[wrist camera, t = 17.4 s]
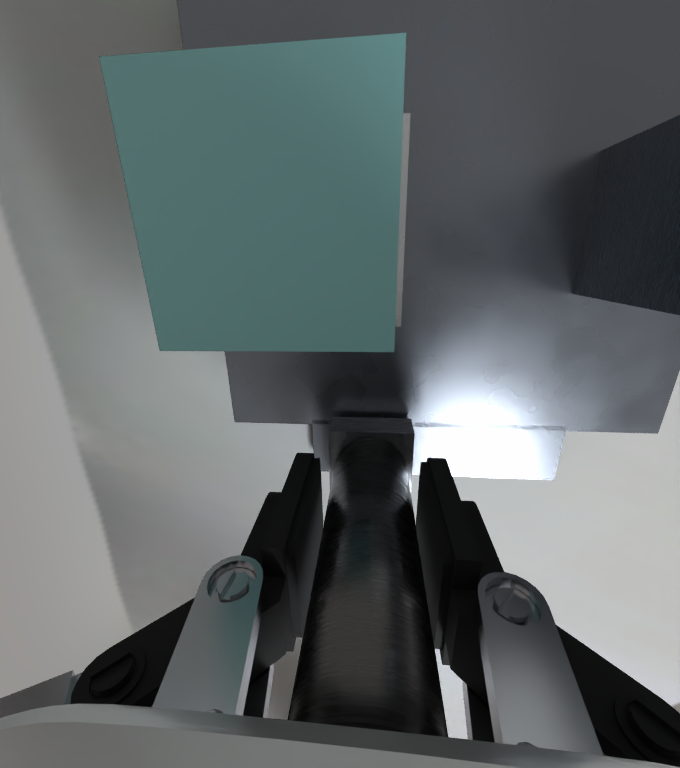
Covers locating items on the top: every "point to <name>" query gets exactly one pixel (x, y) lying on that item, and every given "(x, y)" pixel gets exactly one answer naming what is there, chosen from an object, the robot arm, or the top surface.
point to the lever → (369, 593)
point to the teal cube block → (265, 190)
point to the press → (502, 227)
